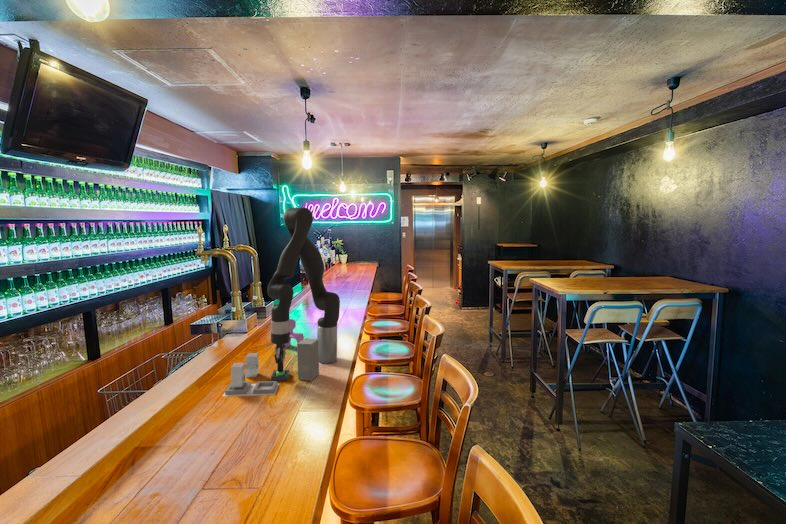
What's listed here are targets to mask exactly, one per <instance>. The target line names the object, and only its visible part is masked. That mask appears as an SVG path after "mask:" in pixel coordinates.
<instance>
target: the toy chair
mask: <svg viewBox="0 0 786 524" xmlns="http://www.w3.org/2000/svg"><path fill="white" fill-rule="evenodd" d="M289 322H290V341H289V342H288V343H286V344H285V345H286V348H288V347H289V346H291V343H292V342H291V339H294V340H296V343H299V342H300V341H301V340H304V339H305V336H304V333H302V332H295V331H294V329H296V324H297V322H296V320H295V319H293V318H289ZM295 352H297V348H296V350H295Z"/></svg>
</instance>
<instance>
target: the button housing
mask: <svg viewBox="0 0 786 524" xmlns="http://www.w3.org/2000/svg"><path fill="white" fill-rule="evenodd" d="M284 370H285V375H278V376H276V371H277V369H274V370H273V372H272V374H271V376H270V381H277V382H288V381H289V377H290V375H291V374H290V373H291V372H290V369H284Z"/></svg>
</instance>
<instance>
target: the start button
mask: <svg viewBox="0 0 786 524" xmlns="http://www.w3.org/2000/svg"><path fill="white" fill-rule="evenodd" d="M285 370H286V369H283V372H278V371H276V376H278V375H285Z"/></svg>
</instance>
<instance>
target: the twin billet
mask: <svg viewBox="0 0 786 524" xmlns="http://www.w3.org/2000/svg"><path fill="white" fill-rule="evenodd" d="M230 380H231V381H230V383H231V389H244V388H245V382H246V362H233V364H232V365H231V366H230Z"/></svg>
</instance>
